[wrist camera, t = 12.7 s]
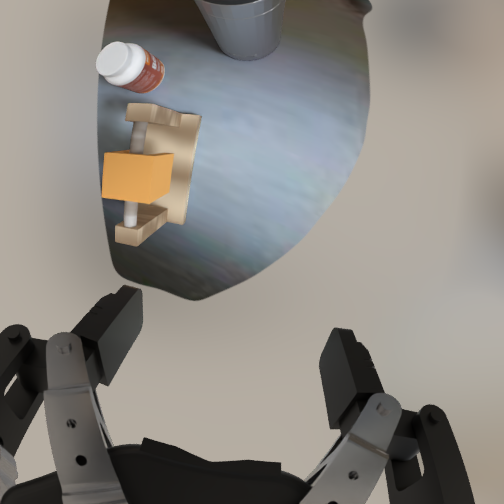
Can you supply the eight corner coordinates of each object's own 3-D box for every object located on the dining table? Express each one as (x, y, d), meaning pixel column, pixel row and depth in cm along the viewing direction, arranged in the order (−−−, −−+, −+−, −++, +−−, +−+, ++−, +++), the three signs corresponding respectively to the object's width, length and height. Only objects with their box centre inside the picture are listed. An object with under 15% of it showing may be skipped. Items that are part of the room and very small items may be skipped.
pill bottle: (174, 73, 32) (143, 51, 22) (144, 101, 34) (106, 91, 24) (150, 51, 31) (117, 28, 20) (123, 79, 32) (83, 65, 22)
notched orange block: (131, 149, 31) (104, 152, 24) (174, 153, 31) (153, 156, 25) (128, 186, 33) (101, 197, 26) (169, 192, 33) (149, 204, 27)
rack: (151, 112, 34) (109, 103, 23) (201, 116, 35) (174, 104, 24) (138, 213, 40) (98, 237, 29) (185, 221, 41) (156, 250, 29)
